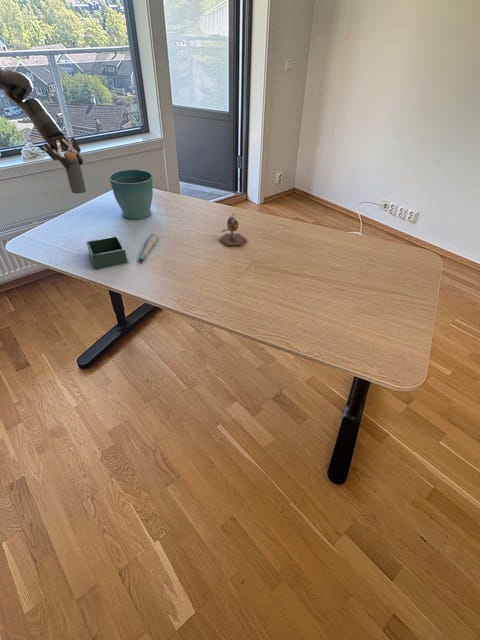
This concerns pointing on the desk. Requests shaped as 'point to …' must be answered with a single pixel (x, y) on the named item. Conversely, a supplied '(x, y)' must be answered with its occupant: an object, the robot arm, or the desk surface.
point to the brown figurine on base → (232, 238)
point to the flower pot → (133, 192)
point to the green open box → (107, 252)
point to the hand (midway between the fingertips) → (75, 165)
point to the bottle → (74, 173)
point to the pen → (148, 246)
